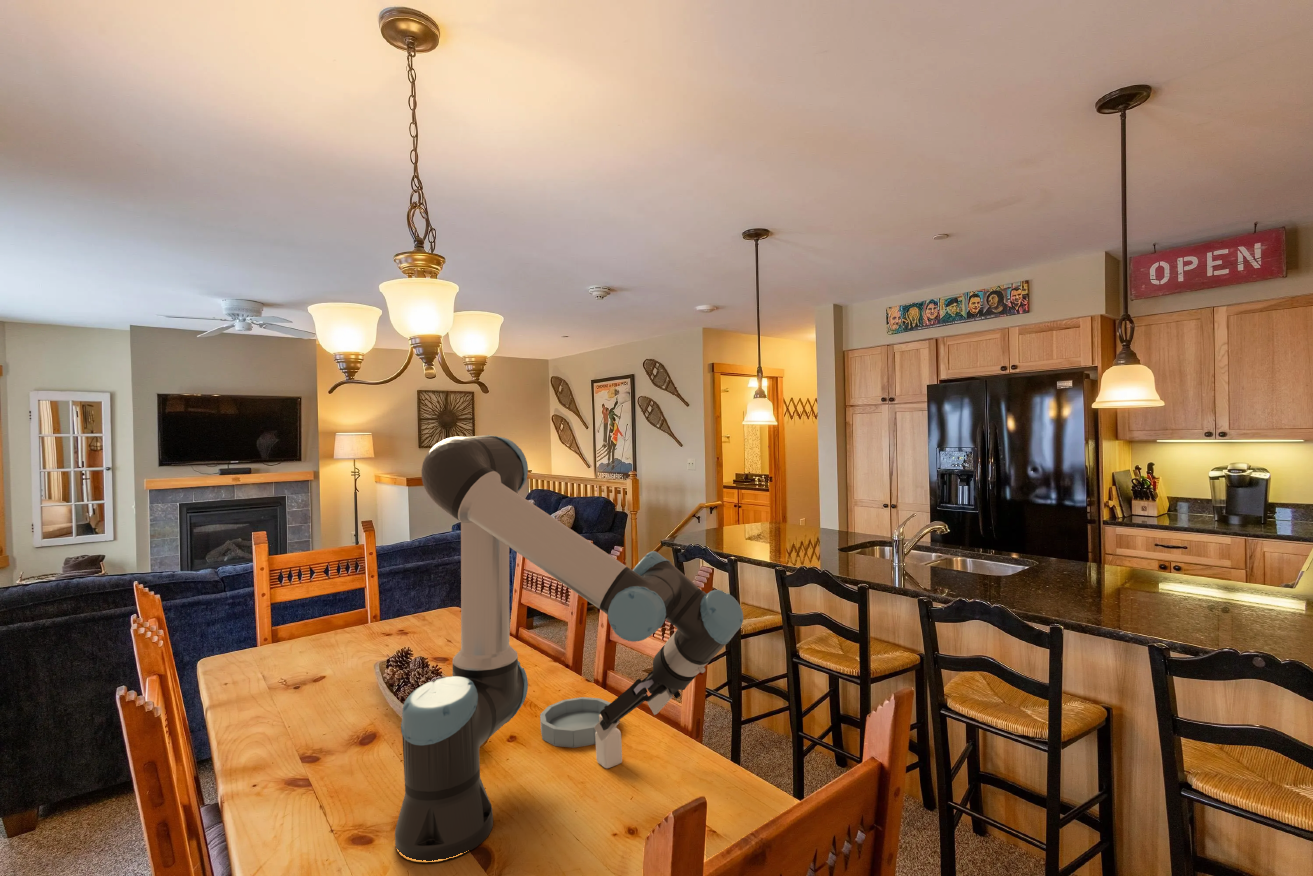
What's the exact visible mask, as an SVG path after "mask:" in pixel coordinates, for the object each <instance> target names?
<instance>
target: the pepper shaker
mask: <svg viewBox="0 0 1313 876" xmlns="http://www.w3.org/2000/svg"><path fill="white" fill-rule="evenodd" d="M601 719H602V716H601V714H600V715H599V721H600V720H601ZM595 736H596V744H595V756H596V762H597V763H598V764H599V765H601V766H602V767H603V768H604V769H610V768H612V767H615V766H618V765H620V764H622V762H623V750H622V749H623V748H622V747H623V746H622V733H621V730H620V729H619V728H618V727H617V726H616V727H615V728H614V729H613V730H612V732H611V733H610V734H609V735H608V736H607V737H606V738H605V740H603V741H601V740H600V738H599V736H598V734H597V732H596V733H595Z"/></svg>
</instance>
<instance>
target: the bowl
mask: <svg viewBox="0 0 1313 876" xmlns="http://www.w3.org/2000/svg"><path fill="white" fill-rule="evenodd" d="M610 703H611V702H610V701H607V700H606V699H605V700H604V699H602V698H599V697H587V696H586V697H585V696H584V697H582V696H581V697H574V698H568V699H563V700H560V701H557V702H555V703H553V704H552V703H551V705H548V706H547V707H546V708H545V709H544V710H543V711H542V712H541V713H540V714H539V715H540V716H539V718H540V720H539V721H540V733H541V737H542V740H543V741H544V742H546V743H549V744H550V745H551V746H554V747H561V748H564V747H565V748H571V749H572V748H574V749H575V748H580V747H587V746H592V745H596V736H595V733H596V730H595V728H594V727H595V726H596V725H597V724H598V722H599V715H600V712H601V711H602V710H603V709H605V708H604V707H605V706H606V705H607V706H608V705H609V704H610Z"/></svg>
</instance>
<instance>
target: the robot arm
mask: <svg viewBox="0 0 1313 876" xmlns="http://www.w3.org/2000/svg"><path fill="white" fill-rule="evenodd" d="M423 459H424V460H423V461H422V465H421V481H422V486H423V487H424V490H425V491H426V493H427V495H428V496H429V497H430V499H431V500H432V501H433V502H434V503H435V504H436V505H437V506H438V507H440V508H441V509H442V510H443V511H444V512H446V513H447V514H449V515H450V516H452V517H453V518H455V519H456V520H458V521H459V522H460V578H461V579H460V583H461V584H460V600H461V601H460V602H461V603H460V611H461V612H460V617H461V618H460V622H461V623H460V627H461V628H460V638H461V639H460V640H461V641H460V644H461V645H460V647H461V648H460V650H459V651H458V652H457V653H456V654H455V655H454V656H453V658H452V675H451V676H445V677H440V678H437V679H436V680H434V681H428V682H426V683H424V684H422V685H420V686H419V687H417V688H415V689H414V690H413V691H412V692H411V693H410V694H409V695H408V697H407V698H406V699H405V701H404V702H403V705H402V713H401V714H402V716H401V717H402V718H401V724H400V729H401V732H400V733H401V735H402V736H401V737H402V752H403V753H402V754H403V772H404V797H403V800H402V803H401V807H400V811H399V814H398V818H397V822H396V824H395V825H396V826H395V829H394V842H395V845H396V846H395V849H396V848H397V849H398V850H399V852H401V853H402V854H403V855H405V856H406V857H409V858H412V859H416V860H422V861H423V860H426V861H432V860H433V861H434V860H438V859H446V858H449V857H453V856H456V855H458V854H460V853H464V852H466V851H468V850H471V851H472V850H474V849H476V848H477V847H478V846H480V845H481V844H482V843H483V842H484V841H485V840H486V839H487V838H488V836H489V835H490V834H491V831H492V829H493V827H494V815H493V814H494V812H493V807H492V806H493V805H492V803H491V801H490V799H489V796H488V793H487V791H486V789H485V785H484V783H483V782H482V778H481V770H480V769H481V765H480V748H481V746H482V745H483V744H484V743H485V742H487V740H488V739H489V738H491V737H492V736H493V735H494V734H495V733H497V731H498V730H500V729H502V727H503V726H504V725H506V724H507V723H508V722H510V721H511V719H513V718H514V717H515V716H516V714H517V713H518V711H519V710H520V709H521V708H522V706H523V704H524V703H525V701H526V697H527V695H528V687H529V682H528V681H529V680H528V675H527V673H526V670H525V668H524V667H522V666H521V663H520V661H519V660H518V659H519V656H518V652H517V651H516V650H515V649H514V648H513V647H512V646H511V645H510V549H511V550H513V551H515V552H516V553H517V554H519V555H521V556H522V557H523V558H524V559H526V560H528V561H529V562H530V563H532V564H533V565H535V566H536V567H538V568H539V569H540V570H542V571H544V572H545V573H546V574H548V575H550V576H551V577H552V578H554V579H555V580H557V581H558V582H560V583H561V584H562V585H564V586H566V587H567V588H568V589H570V590H572V591H573V592H574V593H576V594H577V595H579V596H580V597H582V598H583V599H584V600H586V601H587V602H589V603H590V604H591V605H594V606H595V607H596V608H597V609H599V610H601V611H602V612H603V613H604V614H606V616H607V619H608V623H609V625H610V627H611V629H612V630H613V632H614V633H615V635H616V636H618V638H620V639H622V640H624V641H627V642H632V643H633V642H641V641H644V640H647V639H648V638H649V637H651V636H652V635H654V633H657V631H658V630H659V629H661V627H662V626H663V624H665V621H668V623H670V625H672V626H674V627H675V628H676V631H675V632H674V633H673V634H672V635H671V636H670V637H669V638H668V639H667V641H666V642H665V644H663V646H662V647H660V649H659V651H658V652H657V653H656V654H655V655H654V656H653V657H654V658H653V661H652V670H651V672H649V673H648V674H647V675H646V677H644V678H643V679H641V678H637V679H636V680H635V681H634V682H633V683H632V684H631V685H630V687H628V688H627V689H626V690H625V691H623V692H622V693H621V694H620V695H619V696H618V697H616V698H615V699H614V700H613V701H611V702H610V704H609V705H608V706H607V705H606V706H605V707H604V708H605V709H603V710H602V711H601V712H600V714H601V716H602V719H601V720H600V721H599V722H598V724H597V725H596V726H595V727H594V728H595V730H596V732H597V734H598V736H599V738H600V740H601V741H603V740H605V738H606V737H607V736H608V735H609V734H610V733H611V732H612V730H613V729H614V728H615V727H616V728H617V727H618V725H619V724H620V723H621V721H620V720H622V719H623V718H625V717H626V716H627V715H628V714H630V713H631V712H632V711H633V710H636V708H637V707H639V706H640V705H642V704H643V703H644V702H647V705H648V707H649V708H650V711H652V714H653V715H654V716H655V715H657V714H659V712H660V711H661V710H663V708H664V707H665V706H666V705H667V704H668V703H669V701H670V700H671V699H673V698H675V699H678V698H680V697H681V696H682V694H681V692H680V691H684V690H686V688H687V687H688V686H689V685H690V683H691V682H692V681H694V680H695V678H696V677H697V675H698V674H700V673H701V674H703V673H705V672H706V668H705V666H707V665H708V664H709V662H711V661H712V660H713V659H714V657H716V656H717V654H718V653H720V651H721V650H723V648H724V647H725V646H727V644H729V643H730V641H731V640H732V639H733V637H734V636H735V635H736V633H737V632H738V631H739V630H740V629H741V627H742V625H743V622H744V612H743V609H742V607H741V604H740V603H739V601H738V600H736V598H735V597H734V596H733V595H731V594H730V593H729V592H727V593H725V592H724V591H723V590H721V589H714V590H710V591H709V592H708V593H706V592H705V591H704V590H702V589H701V588H700V587H698V585H696V584H695V583H694V582H693V581H692V580H690V578H689V577H687V576H686V575H685V574H684V573H683V572H682V571H681V570H679V569H678V568H677V567H676V566H675V565H673V563H672V562H671V560H670V559H667V558H665V557H664V556H663V555H661V554H660V553H659V552H658V551H655V550H652V551H649V552H648V553H646V554H645V556H643V557H642V559H641V560H640V561H638V563H637V564H636V565H635V566H634V568H632V569H631V568H630V567H628V566H627V565H626V564H624V563H622V562H621V561H620V560H618V559H616V558H615V557H613V556H612V555H610V554H609V553H607V552H606V551H604V550H603V549H601V548H600V547H598V546H597V545H595V544H594V543H593V542H591V541H589V540H588V539H586V538H585V537H584V536H582V535H580V534H579V533H577V532H576V531H574V530H573V529H571V528H570V527H568V526H567V525H565V524H564V523H562V522H561V521H559V520H558V519H556V518H555V517H553V516H552V515H551V514H549V513H547V512H545V510H543V509H541V508H540V507H538V506H537V505H535V504H534V503H532V502H530V501H529V500H528V499H526V498H525V497H523V496H522V495H521V494H519V493H518V492H519V491H520V490H521V489H522V488H523V486H524V485H525V483H526V481H527V479H528V473H529V465H528V461H527V457H526V456H525V453H524V452H523V450H522V449H521V448H520V447H519V446H518V444H517V443H515V442H514V441H512V440H511V439H509V438H505V437H502V436H497V435H490V434H488V435H475V436H473V435H472V436H452V437H447V438H445V439H442V440H441V441H439V442H437V443H436V444H434V445H433V446H432V447H431V449H429V451H428V452H427V453H426V454H425V458H423ZM648 692H649V695H648Z"/></svg>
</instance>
